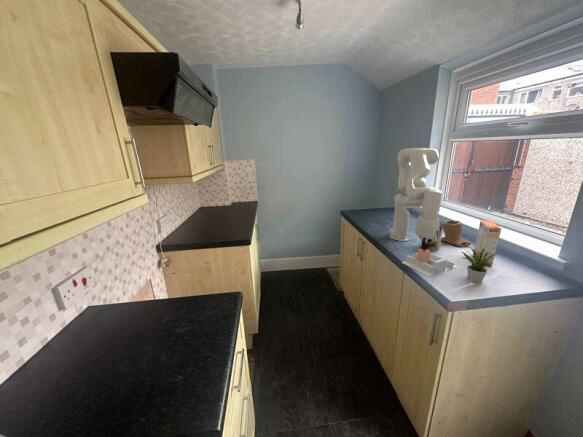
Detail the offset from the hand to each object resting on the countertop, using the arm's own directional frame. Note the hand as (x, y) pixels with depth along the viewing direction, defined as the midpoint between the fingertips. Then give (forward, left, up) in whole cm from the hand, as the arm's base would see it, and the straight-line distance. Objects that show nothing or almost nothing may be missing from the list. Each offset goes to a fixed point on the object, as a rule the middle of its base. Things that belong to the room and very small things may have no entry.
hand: (424, 249), depth 119 cm
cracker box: (+9, +35, -10) cm, 38 cm away
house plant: (+20, +10, -10) cm, 25 cm away
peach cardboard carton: (0, 0, -9) cm, 9 cm away
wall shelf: (+1, +3, -10) cm, 10 cm away
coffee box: (-13, +23, -10) cm, 28 cm away
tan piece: (-13, +45, -10) cm, 48 cm away
